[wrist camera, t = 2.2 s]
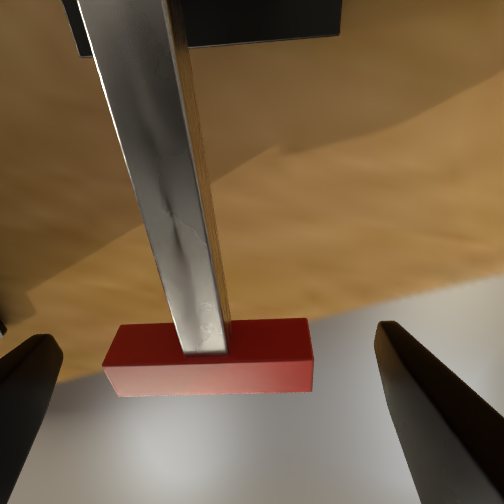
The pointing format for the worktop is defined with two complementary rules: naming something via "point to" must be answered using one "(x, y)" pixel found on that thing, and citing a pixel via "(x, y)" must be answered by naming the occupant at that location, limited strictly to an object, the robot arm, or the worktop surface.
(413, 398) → the robot arm
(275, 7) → the toaster bracket
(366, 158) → the worktop surface
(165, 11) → the lever
